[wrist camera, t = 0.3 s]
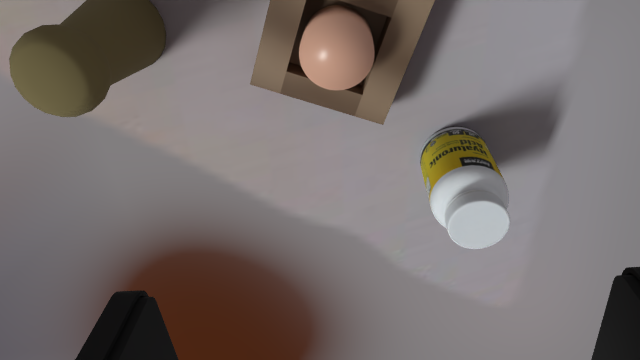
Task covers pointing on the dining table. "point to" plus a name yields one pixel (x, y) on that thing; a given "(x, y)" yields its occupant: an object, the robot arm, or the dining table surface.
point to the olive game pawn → (86, 54)
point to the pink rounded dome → (336, 48)
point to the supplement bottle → (465, 187)
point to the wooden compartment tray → (389, 57)
